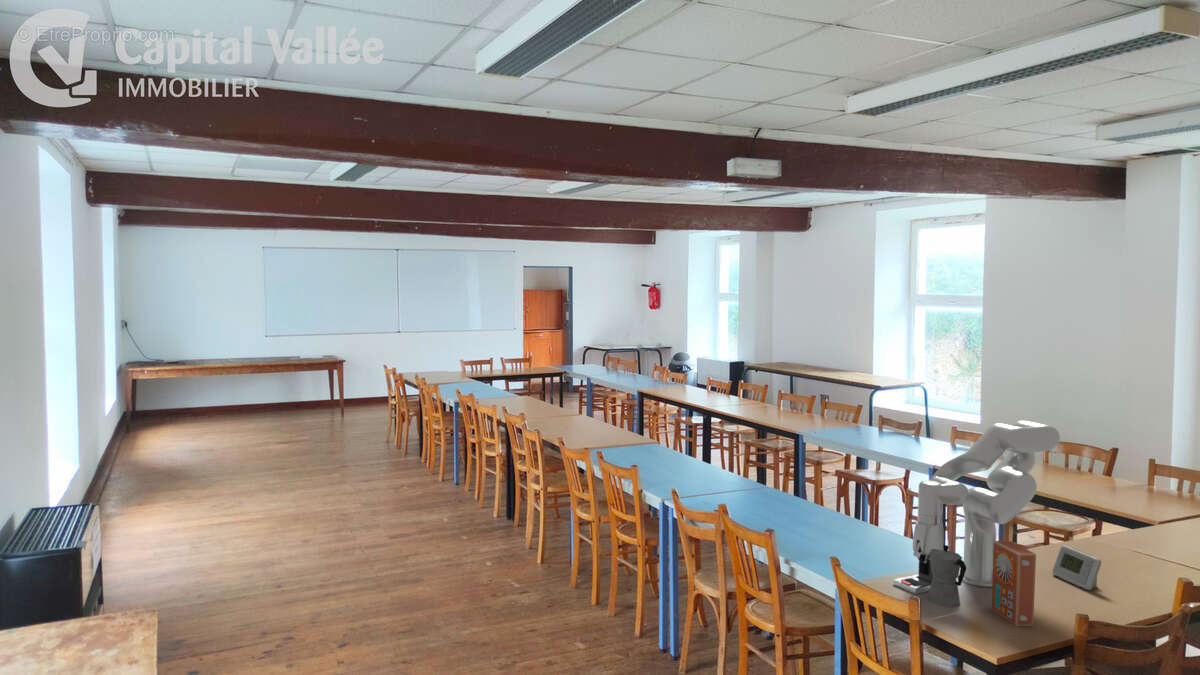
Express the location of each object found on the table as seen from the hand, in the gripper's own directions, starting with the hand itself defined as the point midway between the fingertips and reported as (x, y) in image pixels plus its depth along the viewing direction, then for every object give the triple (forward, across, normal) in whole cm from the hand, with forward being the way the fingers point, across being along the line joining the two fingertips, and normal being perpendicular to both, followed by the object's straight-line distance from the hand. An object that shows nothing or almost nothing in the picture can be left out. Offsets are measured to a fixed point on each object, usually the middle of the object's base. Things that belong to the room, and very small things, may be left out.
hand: (928, 572), depth 254 cm
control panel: (+4, -1, +30) cm, 30 cm away
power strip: (+4, +3, 0) cm, 5 cm away
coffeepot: (+4, +8, +13) cm, 16 cm away
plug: (+3, 0, 0) cm, 3 cm away
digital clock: (+5, -48, +20) cm, 52 cm away
